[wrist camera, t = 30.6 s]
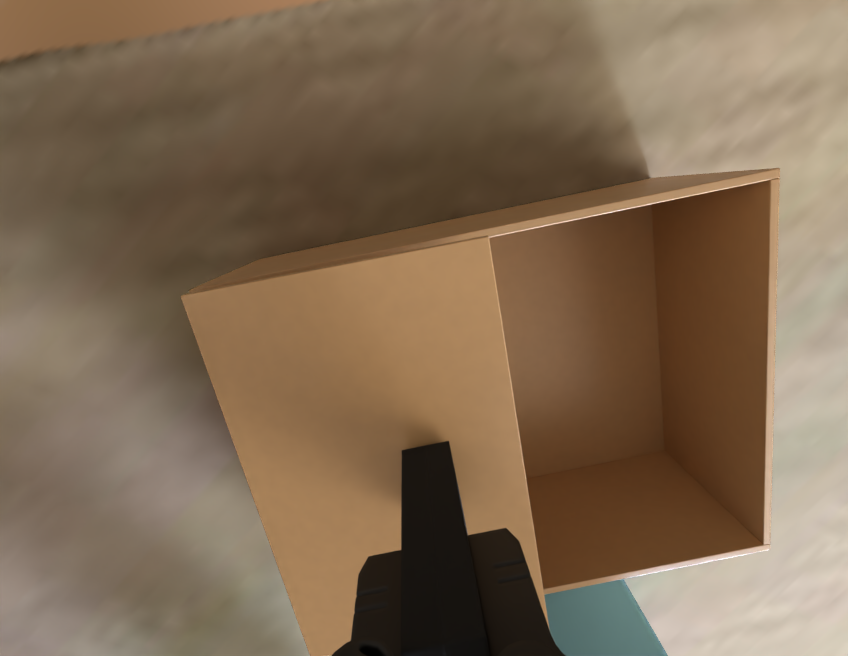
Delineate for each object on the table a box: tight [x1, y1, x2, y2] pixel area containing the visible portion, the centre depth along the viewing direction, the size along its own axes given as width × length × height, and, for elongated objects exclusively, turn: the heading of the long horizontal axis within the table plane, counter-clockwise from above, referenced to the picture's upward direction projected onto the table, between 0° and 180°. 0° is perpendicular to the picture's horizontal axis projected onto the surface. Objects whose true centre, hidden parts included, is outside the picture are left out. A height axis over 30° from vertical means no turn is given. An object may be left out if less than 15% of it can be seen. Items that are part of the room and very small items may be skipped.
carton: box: [189, 168, 780, 595], centre depth 19 cm, size 19×15×7 cm
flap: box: [181, 235, 550, 656], centre depth 15 cm, size 9×14×1 cm, turn 11°
